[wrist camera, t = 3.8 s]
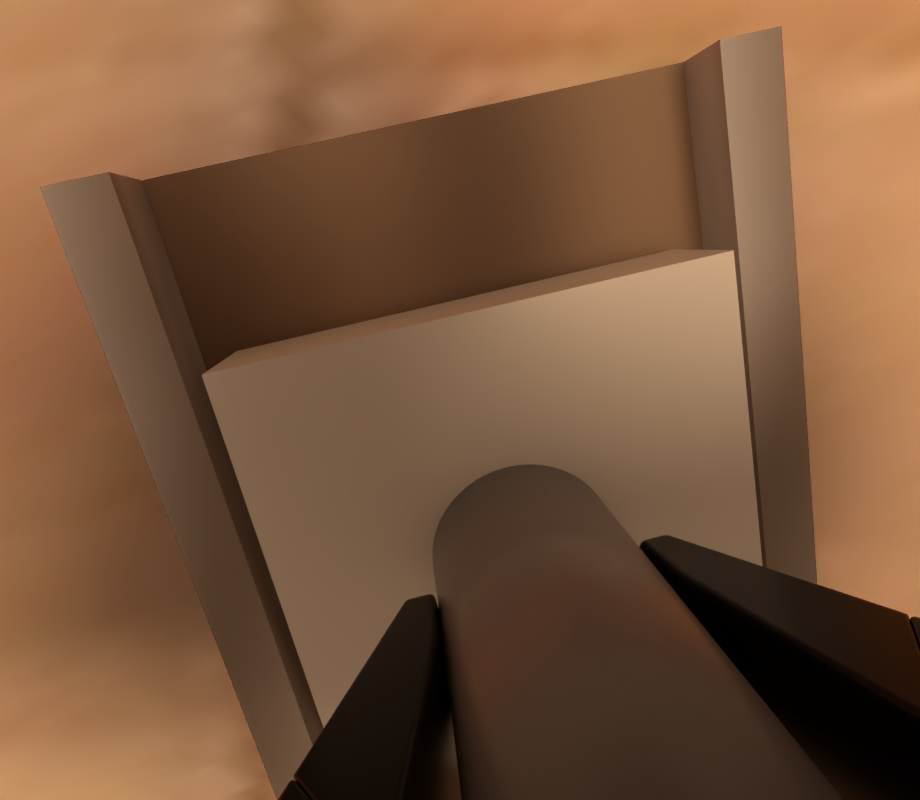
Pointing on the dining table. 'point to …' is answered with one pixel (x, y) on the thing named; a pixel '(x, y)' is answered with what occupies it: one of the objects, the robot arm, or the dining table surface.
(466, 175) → the track
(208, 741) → the dining table surface
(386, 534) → the carriage
